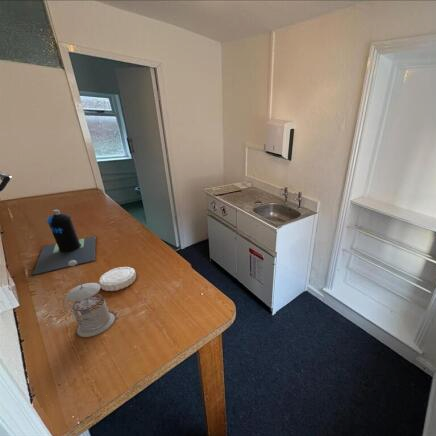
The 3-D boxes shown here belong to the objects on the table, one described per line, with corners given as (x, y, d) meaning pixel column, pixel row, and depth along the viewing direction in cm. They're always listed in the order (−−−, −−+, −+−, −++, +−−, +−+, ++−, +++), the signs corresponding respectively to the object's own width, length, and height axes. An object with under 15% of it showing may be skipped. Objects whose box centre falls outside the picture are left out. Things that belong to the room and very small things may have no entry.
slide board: (32, 275, 95) (32, 274, 95) (43, 246, 113) (43, 246, 113) (94, 260, 106) (94, 260, 106) (95, 236, 125) (95, 236, 125)
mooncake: (110, 295, 88) (108, 288, 86) (94, 284, 93) (92, 276, 91) (142, 278, 97) (140, 271, 96) (126, 268, 102) (124, 262, 101)
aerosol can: (75, 242, 118) (62, 205, 110) (85, 246, 115) (71, 209, 107) (55, 249, 111) (39, 211, 103) (64, 254, 108) (48, 215, 100)
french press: (102, 336, 72) (77, 271, 62) (62, 337, 71) (29, 271, 61) (121, 312, 81) (101, 251, 71) (85, 312, 80) (60, 251, 70)
